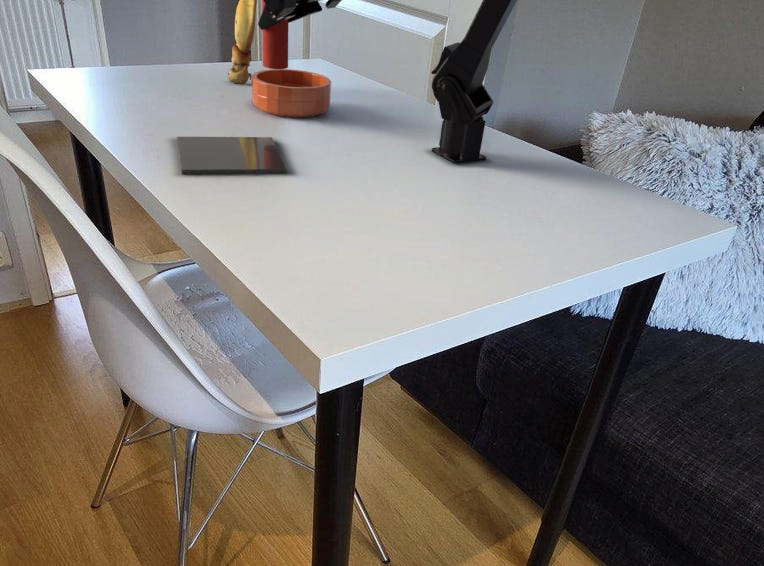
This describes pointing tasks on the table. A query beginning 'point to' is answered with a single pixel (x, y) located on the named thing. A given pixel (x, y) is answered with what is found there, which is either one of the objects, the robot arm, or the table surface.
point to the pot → (291, 92)
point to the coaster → (229, 155)
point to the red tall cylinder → (275, 45)
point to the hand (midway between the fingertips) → (268, 25)
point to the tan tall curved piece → (243, 41)
